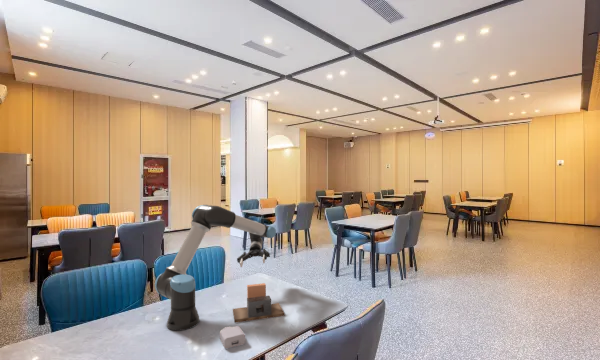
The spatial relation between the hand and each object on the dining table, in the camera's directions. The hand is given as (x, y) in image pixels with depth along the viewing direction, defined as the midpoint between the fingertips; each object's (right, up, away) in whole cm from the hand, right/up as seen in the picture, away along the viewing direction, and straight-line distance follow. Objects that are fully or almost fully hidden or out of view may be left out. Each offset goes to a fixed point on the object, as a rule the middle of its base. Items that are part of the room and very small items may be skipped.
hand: (252, 263), depth 182 cm
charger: (-3, -24, -41) cm, 48 cm away
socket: (+7, -22, -19) cm, 30 cm away
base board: (+6, -23, -15) cm, 28 cm away
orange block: (+5, -21, -13) cm, 25 cm away
